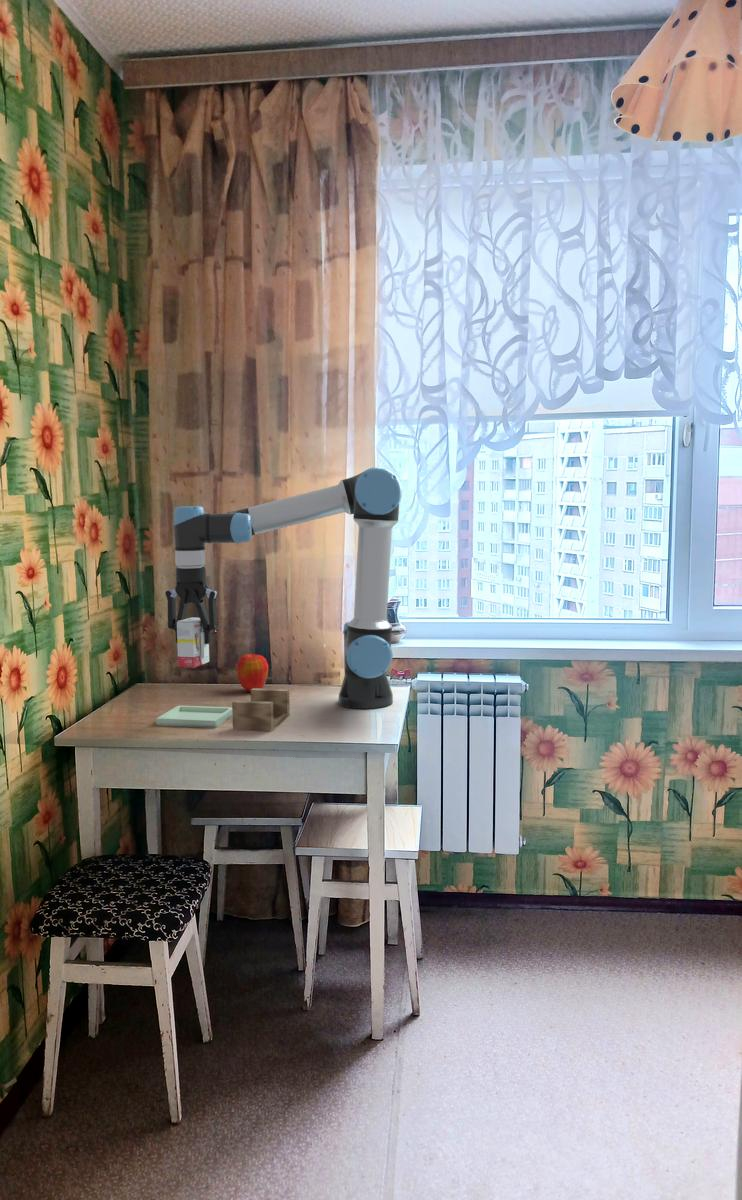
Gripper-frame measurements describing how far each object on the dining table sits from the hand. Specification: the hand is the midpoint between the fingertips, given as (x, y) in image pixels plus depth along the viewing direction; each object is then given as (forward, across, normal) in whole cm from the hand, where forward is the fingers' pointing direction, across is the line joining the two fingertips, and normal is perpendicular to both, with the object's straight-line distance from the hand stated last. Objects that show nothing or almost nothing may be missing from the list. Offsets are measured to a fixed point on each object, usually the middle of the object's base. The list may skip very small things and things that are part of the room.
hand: (193, 655), depth 237 cm
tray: (+17, 0, 0) cm, 17 cm away
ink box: (+2, 0, 0) cm, 2 cm away
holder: (+17, -18, 0) cm, 25 cm away
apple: (+17, -4, -34) cm, 38 cm away
